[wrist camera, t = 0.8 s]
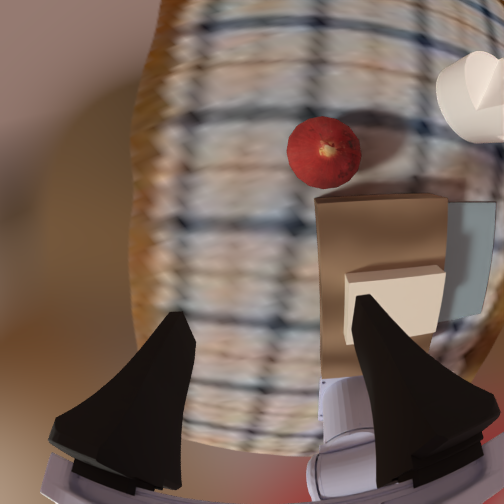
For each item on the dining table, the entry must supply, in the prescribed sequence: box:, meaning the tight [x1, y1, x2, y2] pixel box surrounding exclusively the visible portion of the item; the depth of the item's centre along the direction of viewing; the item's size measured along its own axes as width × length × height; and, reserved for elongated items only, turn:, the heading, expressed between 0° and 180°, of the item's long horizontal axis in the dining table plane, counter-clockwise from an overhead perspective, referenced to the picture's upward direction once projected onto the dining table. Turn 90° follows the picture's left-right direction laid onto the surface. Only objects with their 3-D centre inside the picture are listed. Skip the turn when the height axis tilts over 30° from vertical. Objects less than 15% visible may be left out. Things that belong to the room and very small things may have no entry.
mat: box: [437, 202, 496, 323], centre depth 23 cm, size 14×10×1 cm
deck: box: [314, 193, 448, 379], centre depth 24 cm, size 18×12×4 cm, turn 9°
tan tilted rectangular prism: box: [344, 265, 446, 345], centre depth 21 cm, size 6×9×2 cm, turn 99°
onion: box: [287, 116, 362, 189], centre depth 19 cm, size 6×6×8 cm
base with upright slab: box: [436, 51, 504, 143], centre depth 13 cm, size 9×9×12 cm
